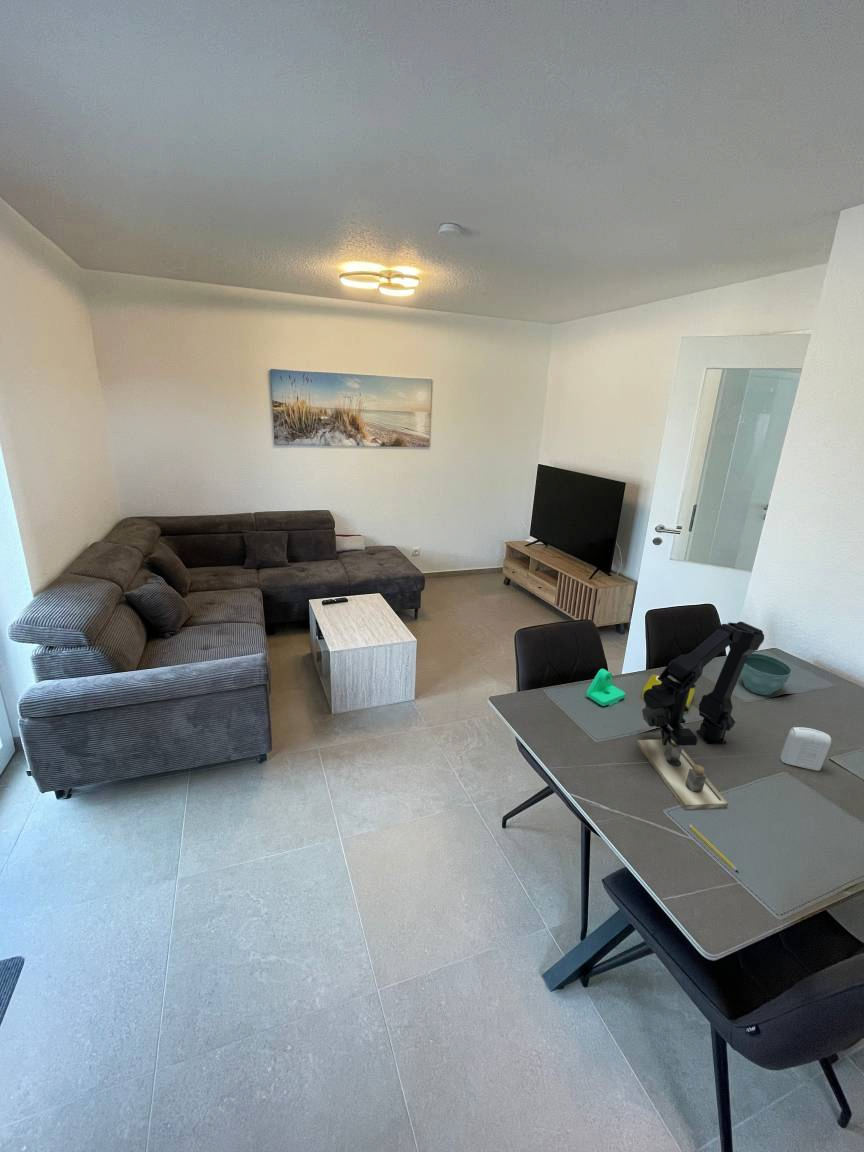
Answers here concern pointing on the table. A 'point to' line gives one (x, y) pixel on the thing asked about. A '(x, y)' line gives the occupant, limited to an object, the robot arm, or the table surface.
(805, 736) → the photo printer
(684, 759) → the bolt plate
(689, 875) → the table surface
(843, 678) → the table surface
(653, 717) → the robot arm
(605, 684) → the camera mount
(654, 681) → the element tile
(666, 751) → the sliding leg
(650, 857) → the table surface
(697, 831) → the pencil
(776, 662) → the flower pot
